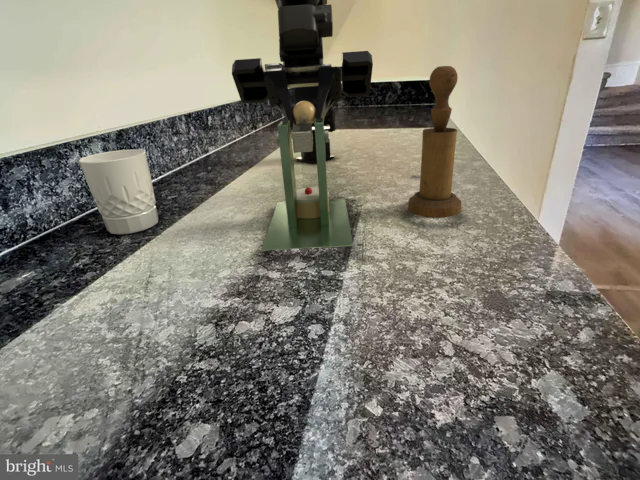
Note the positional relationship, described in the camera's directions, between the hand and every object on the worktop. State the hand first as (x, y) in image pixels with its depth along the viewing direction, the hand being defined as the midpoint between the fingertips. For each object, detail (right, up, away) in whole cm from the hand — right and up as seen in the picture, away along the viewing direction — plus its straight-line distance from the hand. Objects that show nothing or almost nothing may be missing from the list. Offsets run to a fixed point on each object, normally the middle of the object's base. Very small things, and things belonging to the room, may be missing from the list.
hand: (304, 127), depth 48 cm
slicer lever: (0, -2, -1) cm, 2 cm away
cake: (+1, -11, +2) cm, 11 cm away
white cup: (-25, -13, +4) cm, 28 cm away
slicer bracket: (+1, -13, -1) cm, 13 cm away
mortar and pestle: (+17, -12, +1) cm, 21 cm away
